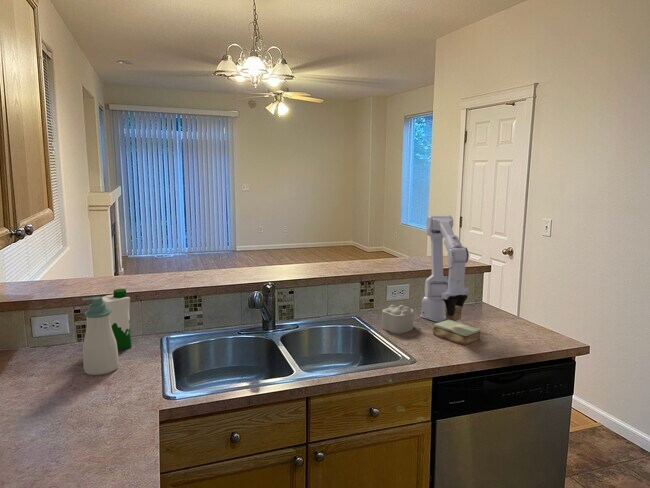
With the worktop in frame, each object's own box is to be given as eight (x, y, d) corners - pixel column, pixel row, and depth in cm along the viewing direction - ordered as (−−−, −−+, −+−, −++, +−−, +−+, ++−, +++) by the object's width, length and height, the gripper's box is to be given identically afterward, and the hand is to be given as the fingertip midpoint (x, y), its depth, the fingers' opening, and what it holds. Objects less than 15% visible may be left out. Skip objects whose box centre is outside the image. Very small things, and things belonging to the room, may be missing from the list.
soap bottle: (86, 365, 145) (80, 295, 141) (120, 361, 148) (115, 292, 144) (81, 378, 136) (76, 304, 132) (118, 373, 139) (113, 301, 135)
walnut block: (445, 318, 175) (446, 305, 174) (451, 316, 177) (452, 303, 176) (454, 321, 172) (455, 308, 171) (460, 319, 174) (461, 306, 173)
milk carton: (135, 347, 159) (132, 291, 156) (108, 354, 152) (105, 296, 149) (124, 340, 165) (121, 286, 162) (98, 347, 158) (94, 291, 155)
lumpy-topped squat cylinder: (378, 327, 184) (378, 306, 183) (400, 321, 192) (401, 301, 191) (396, 335, 176) (398, 313, 175) (419, 328, 184) (420, 307, 183)
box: (433, 334, 177) (433, 327, 177) (448, 328, 184) (448, 321, 183) (465, 345, 167) (465, 337, 166) (479, 339, 173) (480, 331, 173)
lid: (433, 326, 177) (433, 323, 177) (448, 321, 183) (448, 319, 183) (465, 336, 166) (465, 334, 166) (480, 331, 173) (480, 329, 173)
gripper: (454, 284, 164) (451, 320, 166) (476, 278, 174) (473, 313, 176) (437, 280, 169) (435, 315, 172) (460, 275, 179) (457, 308, 181)
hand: (453, 314), depth 174 cm, fingers closed on walnut block, 4 cm apart
